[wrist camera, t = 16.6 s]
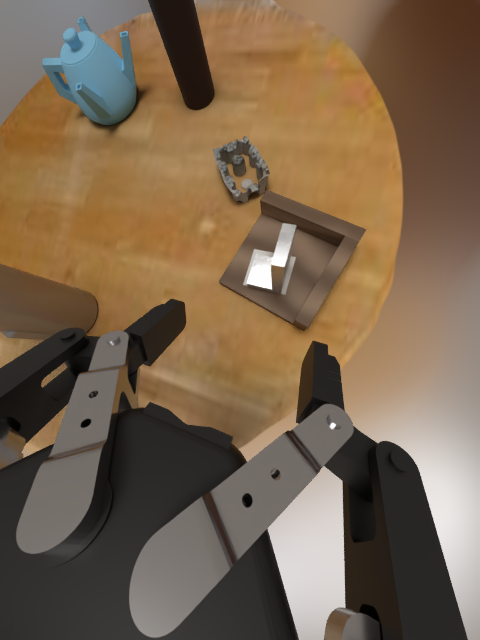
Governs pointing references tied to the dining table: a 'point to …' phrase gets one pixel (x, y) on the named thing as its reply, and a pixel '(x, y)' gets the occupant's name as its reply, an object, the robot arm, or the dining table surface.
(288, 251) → the bracket
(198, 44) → the bottle
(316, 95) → the dining table surface
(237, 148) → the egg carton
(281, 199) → the arena
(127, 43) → the teapot
